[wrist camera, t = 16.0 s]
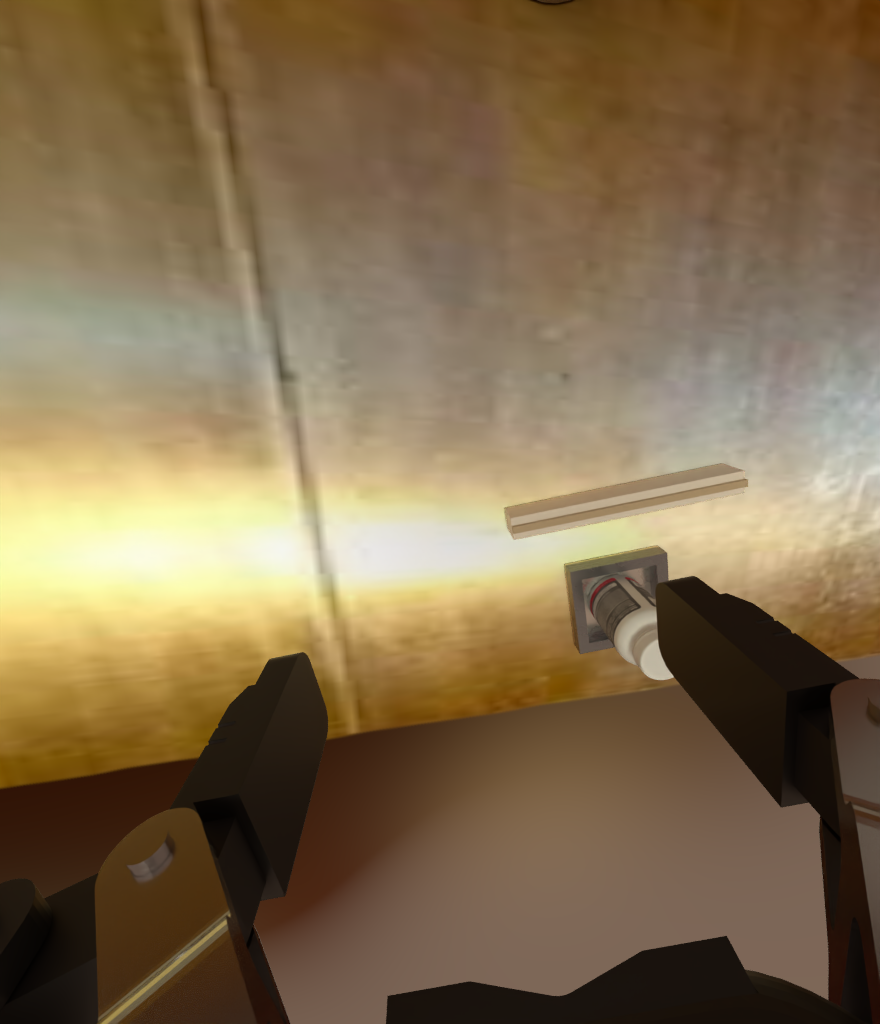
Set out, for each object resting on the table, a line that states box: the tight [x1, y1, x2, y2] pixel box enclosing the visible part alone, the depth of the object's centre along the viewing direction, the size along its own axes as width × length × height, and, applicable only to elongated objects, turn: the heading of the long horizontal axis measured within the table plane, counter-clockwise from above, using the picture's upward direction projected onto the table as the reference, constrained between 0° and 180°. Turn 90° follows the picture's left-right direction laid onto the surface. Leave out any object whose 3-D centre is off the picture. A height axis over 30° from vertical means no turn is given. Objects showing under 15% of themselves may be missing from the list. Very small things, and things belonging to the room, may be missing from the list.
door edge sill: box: [504, 464, 748, 540], centre depth 39 cm, size 20×2×3 cm, turn 101°
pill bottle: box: [588, 574, 674, 680], centre depth 39 cm, size 5×5×10 cm
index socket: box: [564, 546, 668, 654], centre depth 43 cm, size 9×9×2 cm
